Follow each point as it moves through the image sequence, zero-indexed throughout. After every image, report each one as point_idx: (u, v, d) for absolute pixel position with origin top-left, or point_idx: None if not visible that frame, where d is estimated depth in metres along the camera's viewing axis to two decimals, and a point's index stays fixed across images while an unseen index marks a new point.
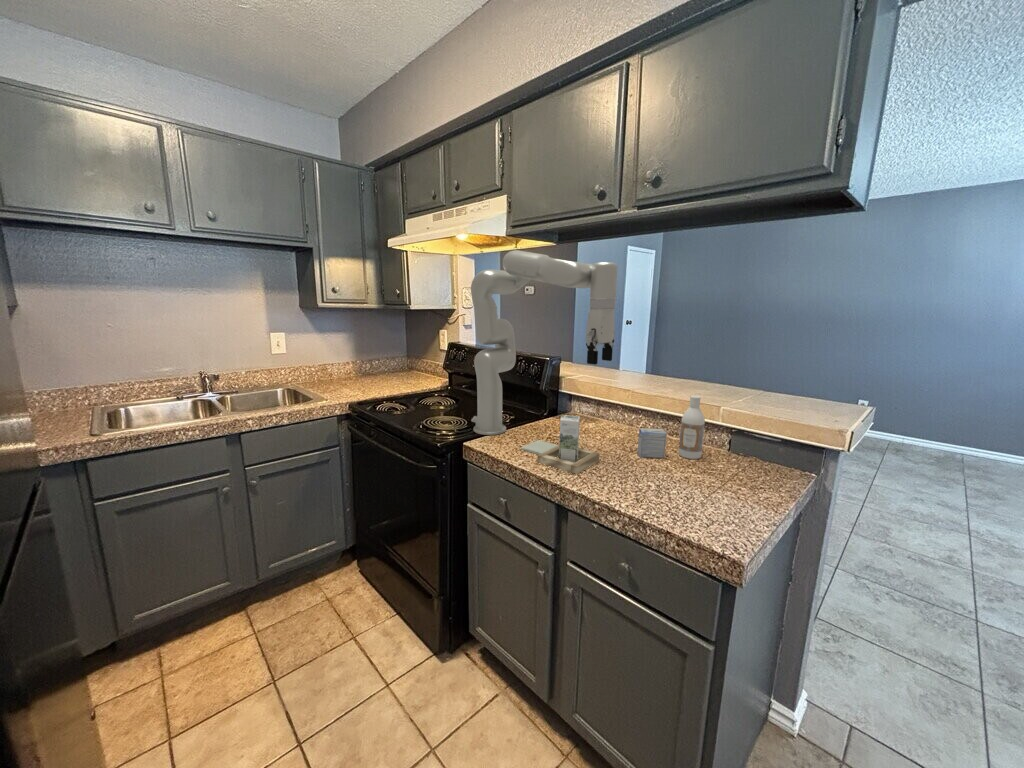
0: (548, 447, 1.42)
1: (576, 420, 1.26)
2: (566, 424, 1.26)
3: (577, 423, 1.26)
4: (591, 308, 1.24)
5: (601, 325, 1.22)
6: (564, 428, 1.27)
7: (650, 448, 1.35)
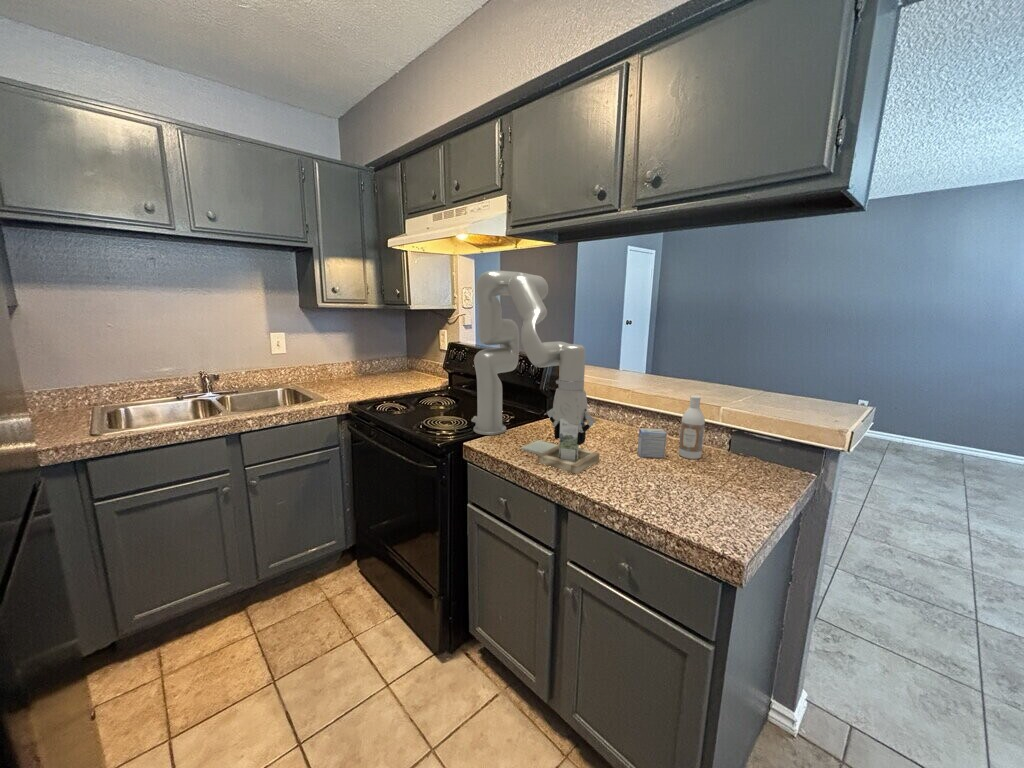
0: (548, 447, 1.42)
1: None
2: (566, 424, 1.26)
3: None
4: (577, 390, 1.23)
5: None
6: (564, 427, 1.27)
7: (650, 448, 1.35)
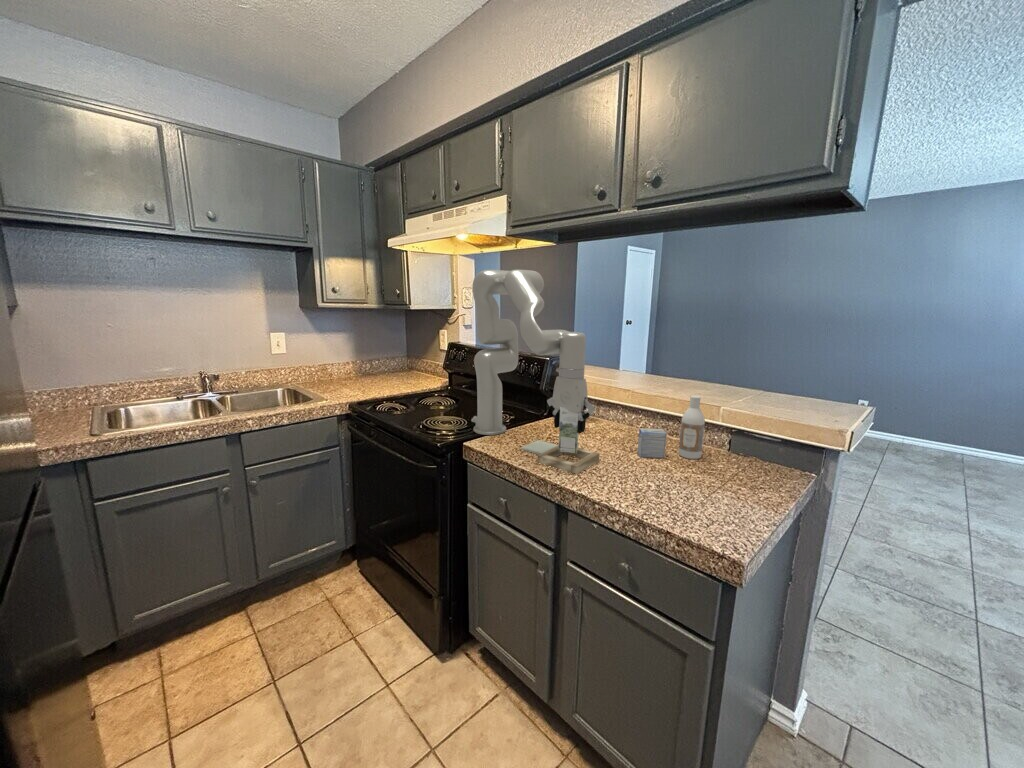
0: (548, 447, 1.42)
1: None
2: (566, 412, 1.26)
3: None
4: (577, 378, 1.23)
5: None
6: (564, 416, 1.26)
7: (650, 448, 1.35)
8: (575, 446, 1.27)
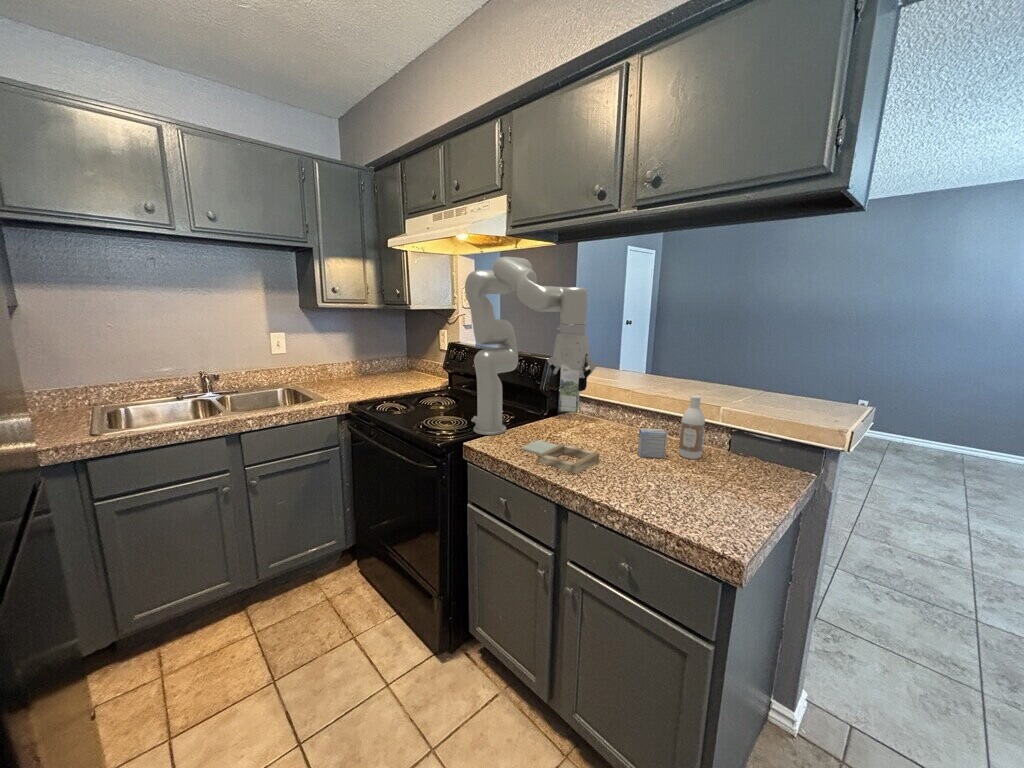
0: (548, 447, 1.42)
1: None
2: (567, 369, 1.23)
3: None
4: (578, 334, 1.20)
5: None
6: (565, 373, 1.24)
7: (650, 448, 1.35)
8: (576, 404, 1.25)
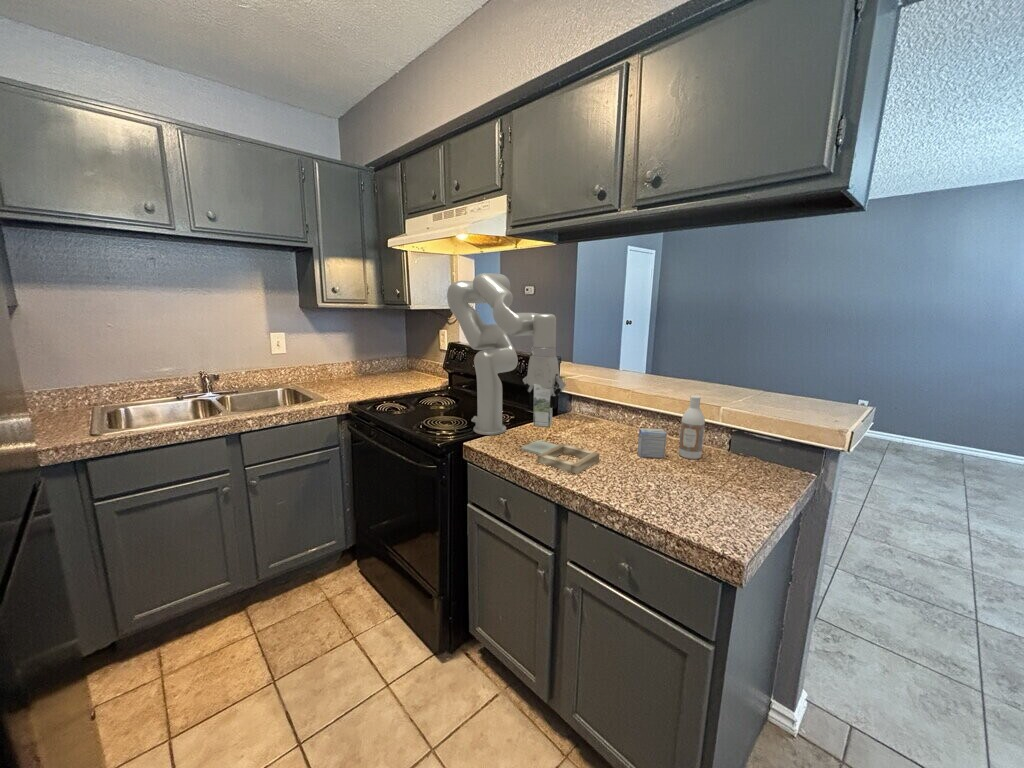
0: (548, 447, 1.42)
1: None
2: (539, 388, 1.35)
3: None
4: (548, 356, 1.33)
5: None
6: (538, 392, 1.36)
7: (650, 448, 1.35)
8: (548, 420, 1.37)
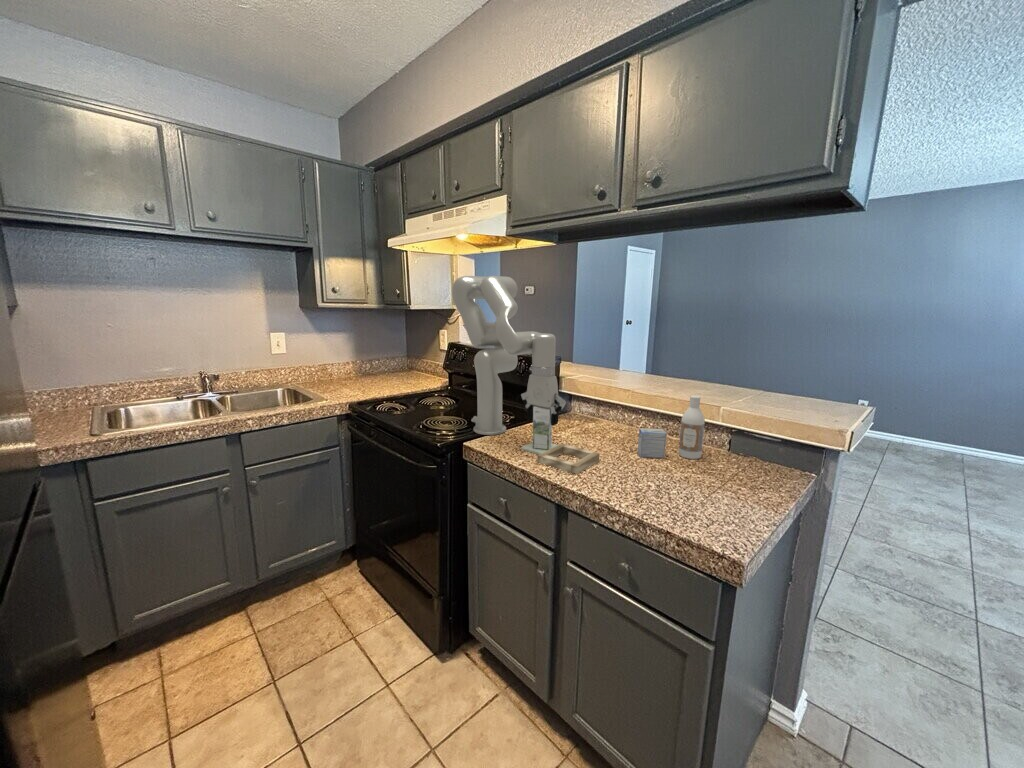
0: None
1: (548, 408, 1.37)
2: (538, 411, 1.37)
3: (548, 410, 1.36)
4: (548, 376, 1.34)
5: None
6: (537, 415, 1.37)
7: (650, 448, 1.35)
8: (547, 443, 1.39)
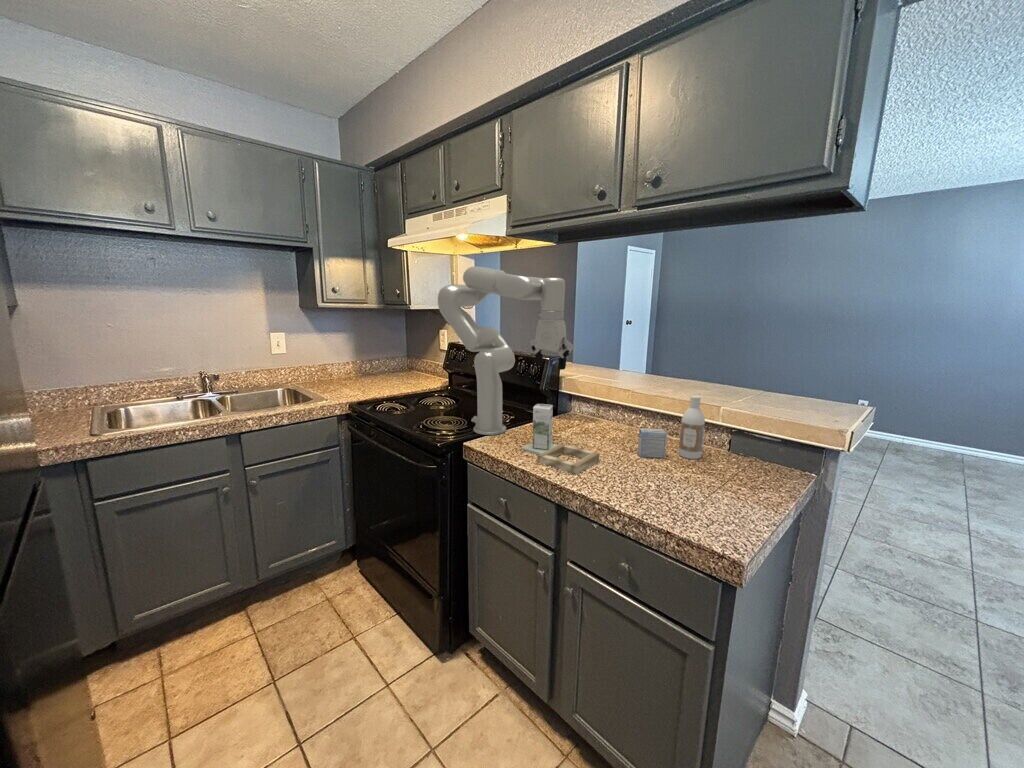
0: None
1: (548, 408, 1.37)
2: (538, 411, 1.37)
3: (548, 410, 1.36)
4: (556, 319, 1.35)
5: None
6: (537, 415, 1.37)
7: (650, 448, 1.35)
8: (547, 443, 1.38)
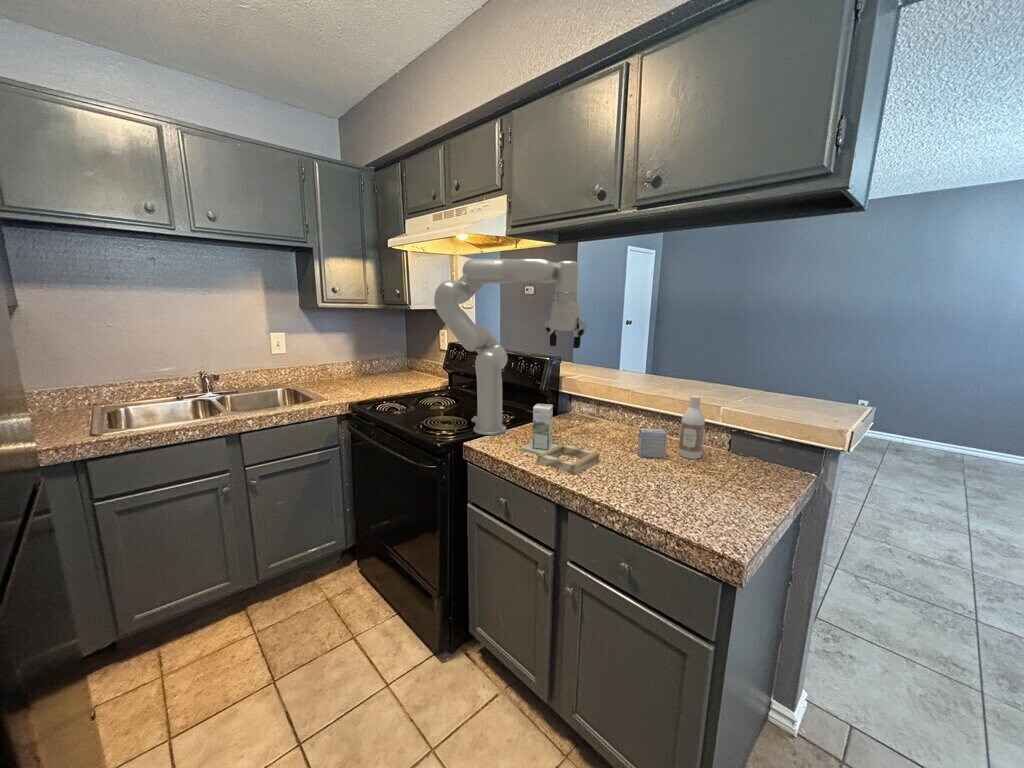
0: None
1: (548, 408, 1.37)
2: (538, 411, 1.37)
3: (548, 410, 1.36)
4: (571, 300, 1.43)
5: None
6: (537, 415, 1.37)
7: (650, 448, 1.35)
8: (547, 443, 1.38)
